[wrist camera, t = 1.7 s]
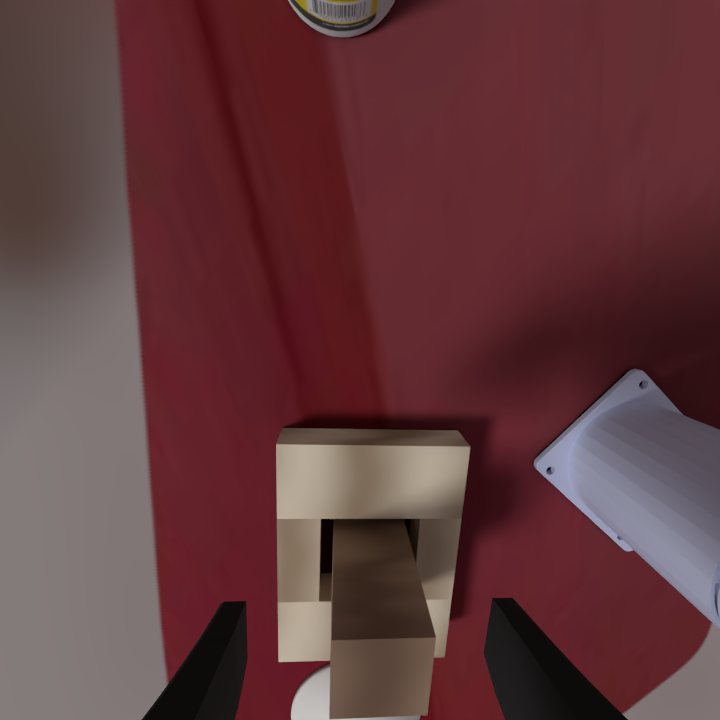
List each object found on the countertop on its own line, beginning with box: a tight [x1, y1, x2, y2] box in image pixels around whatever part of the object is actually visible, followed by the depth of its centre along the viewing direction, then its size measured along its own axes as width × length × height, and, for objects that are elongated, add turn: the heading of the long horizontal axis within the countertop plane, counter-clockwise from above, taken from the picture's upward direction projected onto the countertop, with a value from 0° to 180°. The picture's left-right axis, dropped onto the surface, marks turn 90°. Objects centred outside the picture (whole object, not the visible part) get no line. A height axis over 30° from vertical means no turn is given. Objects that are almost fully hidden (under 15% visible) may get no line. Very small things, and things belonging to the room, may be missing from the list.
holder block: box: [276, 428, 470, 662], centre depth 21 cm, size 10×14×2 cm
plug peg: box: [329, 519, 436, 719], centre depth 18 cm, size 4×4×8 cm
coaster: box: [291, 663, 420, 720], centre depth 25 cm, size 9×9×1 cm
